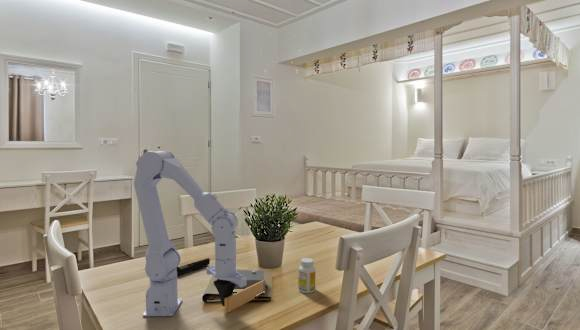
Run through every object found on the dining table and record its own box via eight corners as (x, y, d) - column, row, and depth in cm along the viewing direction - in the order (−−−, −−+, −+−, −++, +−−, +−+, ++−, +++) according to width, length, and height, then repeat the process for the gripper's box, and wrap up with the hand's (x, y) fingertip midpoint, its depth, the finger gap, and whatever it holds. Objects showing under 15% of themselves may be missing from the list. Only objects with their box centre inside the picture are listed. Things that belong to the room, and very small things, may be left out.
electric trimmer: (212, 267, 129) (212, 258, 129) (175, 278, 117) (174, 269, 117) (206, 264, 132) (206, 256, 131) (169, 276, 120) (169, 267, 120)
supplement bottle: (299, 293, 105) (299, 263, 105) (297, 286, 111) (297, 257, 110) (316, 293, 106) (316, 262, 105) (313, 285, 111) (314, 257, 111)
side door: (266, 293, 105) (266, 280, 105) (227, 313, 93) (227, 299, 92) (263, 292, 106) (263, 279, 106) (224, 312, 94) (223, 298, 93)
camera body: (262, 292, 106) (262, 278, 106) (223, 292, 106) (223, 278, 106) (263, 280, 115) (263, 267, 115) (228, 281, 115) (228, 268, 115)
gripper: (254, 258, 93) (254, 307, 94) (219, 248, 102) (220, 292, 103) (235, 266, 87) (235, 317, 88) (200, 254, 96) (200, 301, 97)
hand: (226, 304), depth 95 cm, fingers closed
